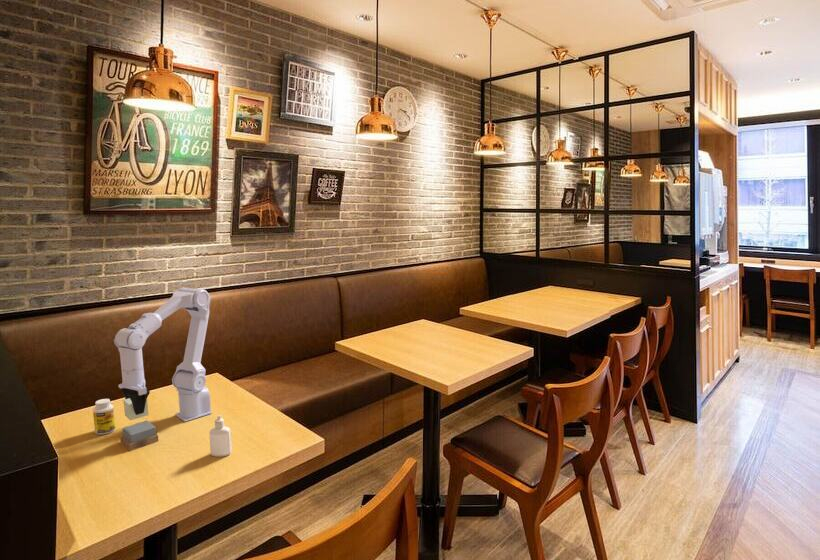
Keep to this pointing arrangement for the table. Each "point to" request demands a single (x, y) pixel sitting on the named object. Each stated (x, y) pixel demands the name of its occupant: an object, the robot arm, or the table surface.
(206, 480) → the table surface
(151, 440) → the walnut base slab
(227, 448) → the eye dropper bottle
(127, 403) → the sage cube
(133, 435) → the slate gray middle block
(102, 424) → the supplement bottle
